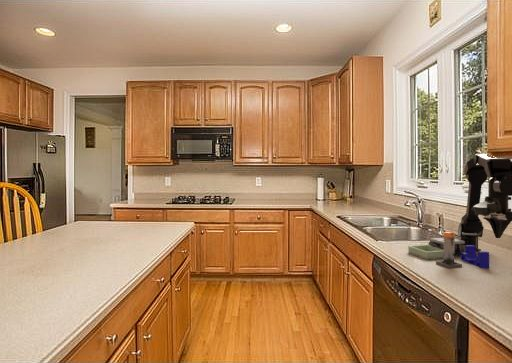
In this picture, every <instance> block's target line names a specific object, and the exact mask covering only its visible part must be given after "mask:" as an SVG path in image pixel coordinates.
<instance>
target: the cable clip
mask: <svg viewBox="0 0 512 363" xmlns="http://www.w3.org/2000/svg"><path fill="white" fill-rule="evenodd" d="M477 252H478V254H477ZM460 257H461V258H460V260H462V261H463V262H465V263H466V262H467V264H468V263H470V265H474V266H475V267H477V268H480V269H490V252H489V251H482V250H479V251H476V249H475V246H474V245H465V253H462V252H461V255H460Z"/></svg>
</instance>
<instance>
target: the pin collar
mask: <svg viewBox="0 0 512 363" xmlns="http://www.w3.org/2000/svg"><path fill="white" fill-rule="evenodd" d="M435 264H436V265H439V266H441V267H445V268H447V269H451V268H452V269H454V268H462V267H463V264H462V263H460V262H456V261H454V264H451V265H448V264H445V263H444V260H436V261H435Z"/></svg>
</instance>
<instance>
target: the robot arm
mask: <svg viewBox="0 0 512 363" xmlns="http://www.w3.org/2000/svg"><path fill="white" fill-rule="evenodd" d="M487 154H488V153H476V154H474V155H473V158H471V159H469V160H468V161H466V163H465V166H464V170H463V171H464V175H465V178H466V180H467V181H468V189H467V190H468V193H467V199H466V201H467V203H466V211H465V214H464V215H463V216H462V217H461V219H460V222H459V225H458V228H457V235H458V236H459V237H460V239H459V240H463V241H465V243H463V244H464V245H474V246H475V249H476V252H478V251H482V249H481V248H479V238H482V237H483V231H484V228H485V227H484V226H483V222H482V220H481V219H480V217H479V216H482V219H483V220H485V221H487V222H488V223H489V224H490V227H491V229H492V232H493V236H495V239H501V237H502V236H503V234H504V233H505V231H506V230H507V228H508V226H509V225H510V224H511V223H512V208H509V201H512V160H511V158H509V157H495V158H491V157H488V156H487ZM487 180H488V182H487V183H488V184H487V185H488V196H487V195H486V196H484V201H482V202H481V195H482V185H483V184H485V183H486V181H487Z"/></svg>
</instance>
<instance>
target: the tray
mask: <svg viewBox="0 0 512 363" xmlns="http://www.w3.org/2000/svg"><path fill="white" fill-rule="evenodd" d="M407 248H408V250H407V251H408V253H409V254H411V255H414V256H416V257H419V258H422V259H425V260H428V261H429V260H436V259H438V260H439V259H440V260H441V259H444V250H443V249H439V248H436V247H435V250H433V248H434V247H433V246H429V245H428V244H422V245H421V244H420V245H417V244H416V245H408V247H407Z"/></svg>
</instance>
